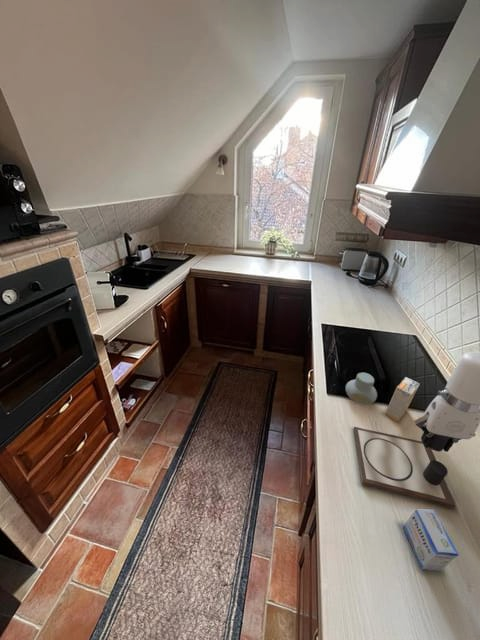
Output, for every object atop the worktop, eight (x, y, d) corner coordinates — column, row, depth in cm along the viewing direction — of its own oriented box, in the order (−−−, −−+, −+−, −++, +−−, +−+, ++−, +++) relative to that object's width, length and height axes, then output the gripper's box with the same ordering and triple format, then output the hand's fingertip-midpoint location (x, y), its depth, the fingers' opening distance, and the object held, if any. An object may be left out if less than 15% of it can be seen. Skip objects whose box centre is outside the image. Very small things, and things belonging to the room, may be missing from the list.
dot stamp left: (439, 440, 73) (446, 428, 70) (445, 453, 69) (452, 441, 67) (423, 437, 74) (429, 425, 71) (428, 449, 70) (435, 437, 68)
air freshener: (374, 394, 98) (382, 375, 94) (374, 410, 92) (382, 389, 87) (345, 385, 102) (350, 366, 97) (342, 399, 96) (349, 379, 91)
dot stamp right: (436, 472, 71) (444, 462, 68) (442, 487, 68) (450, 476, 65) (420, 468, 72) (427, 458, 69) (425, 483, 68) (433, 472, 66)
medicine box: (401, 526, 61) (414, 507, 57) (420, 526, 61) (434, 508, 57) (421, 570, 54) (437, 553, 50) (442, 571, 54) (460, 554, 50)
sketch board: (427, 445, 80) (429, 442, 79) (453, 508, 65) (456, 505, 64) (353, 429, 84) (354, 426, 84) (361, 484, 69) (363, 481, 68)
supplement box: (398, 422, 87) (412, 395, 81) (384, 413, 90) (396, 386, 84) (407, 410, 92) (420, 383, 86) (393, 402, 95) (405, 376, 89)
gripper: (429, 403, 61) (405, 450, 70) (512, 417, 58) (475, 465, 67) (418, 382, 68) (397, 427, 77) (492, 393, 64) (461, 440, 73)
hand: (434, 444), depth 72 cm, fingers closed on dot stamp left, 4 cm apart
